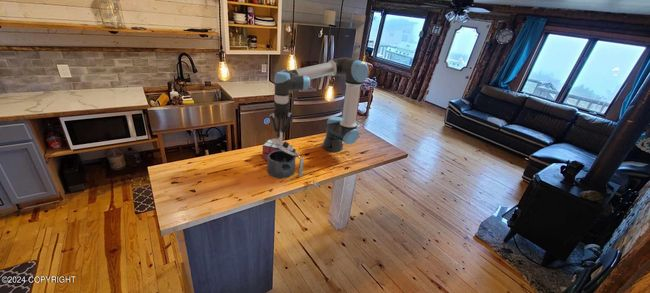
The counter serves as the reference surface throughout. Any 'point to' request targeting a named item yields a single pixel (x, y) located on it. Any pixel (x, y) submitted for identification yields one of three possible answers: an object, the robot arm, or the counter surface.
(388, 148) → the counter surface
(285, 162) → the pot
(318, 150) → the counter surface
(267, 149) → the puzzle cube
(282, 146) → the lid
